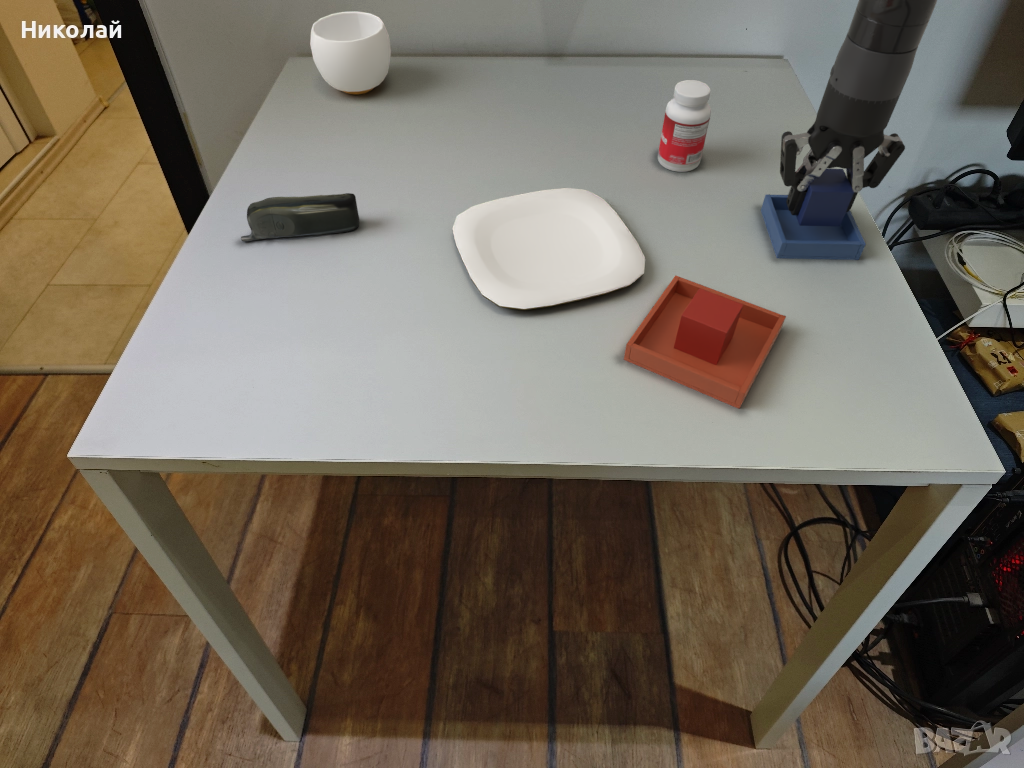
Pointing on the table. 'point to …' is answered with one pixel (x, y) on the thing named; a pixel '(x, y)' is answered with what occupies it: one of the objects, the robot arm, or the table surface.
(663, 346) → the terracotta tray
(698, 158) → the pill bottle
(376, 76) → the cup
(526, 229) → the plate
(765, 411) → the table surface
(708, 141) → the table surface
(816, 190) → the navy block
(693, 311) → the red block
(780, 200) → the blue tray
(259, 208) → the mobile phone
